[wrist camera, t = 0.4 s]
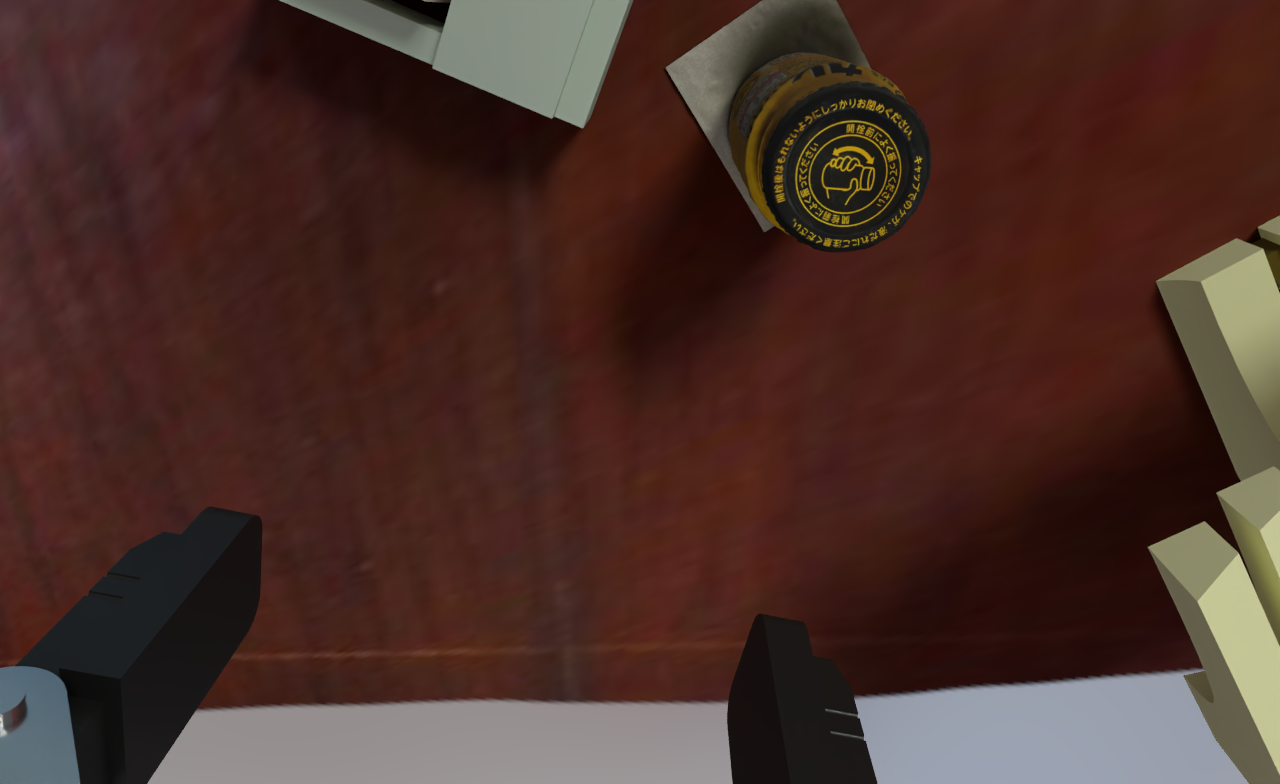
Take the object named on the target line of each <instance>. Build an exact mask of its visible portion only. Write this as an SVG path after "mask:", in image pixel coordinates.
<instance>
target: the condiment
mask: <svg viewBox="0 0 1280 784" xmlns="http://www.w3.org/2000/svg"><path fill="white" fill-rule="evenodd" d="M666 70H667V71H668V73H669V75H670V76H671V78H672V80H673V81H674V83H675V85H676V86H677V88H678V90H679V91H680V93H681V95H682V96H683V98H684V100H685V101H686V103H687V105H688V106H689V108H690V110H691V111H692V113H693V114H694V116H695V117H696V119H697V121H698V123H699V125H700V126H701V128H702V130H703V131H704V133H705V135H706V136H707V138H708V140H709V141H710V143H711V144H712V146H713V148H714V149H715V151H716V153H717V154H718V156H719V158H720V159H721V161H722V163H723V164H724V166H725V168H726V169H727V171H728V173H729V174H730V176H731V178H732V179H733V181H734V183H735V184H736V186H737V188H738V189H739V191H740V193H741V194H742V196H743V198H744V199H745V201H746V203H747V204H748V206H749V208H750V209H751V211H752V213H753V214H754V216H755V218H756V219H757V221H758V223H759V224H760V226H761V228H762V229H763V231H764V232H766V231H768V230H769V229H771V228H772V227H774V226H776V227H777V228H779V229H780V230H782V231H784V232H785V233H786V234H788V235H791V236H793V237H795V238H797V240H798V242H800V243H804V244H806V245H810V246H811V247H812V248H814V249H818V250H821V251H826V252H849V251H856V250H860V249H866V248H869V247H872V246H874V245H875V244H878V243H879V242H881V241H883V240H885V239H887V238H888V237H890V236H892V235H893V234H894V233H896V232H897V231H899V229H900V228H902V227H903V226H904V224H905V223H906V221H907V220H908V219H909V218H910V217H911V216H912V215H913V214H914V212H915V211H916V209H917V207H918V205H919V203H920V201H921V199H922V197H923V195H924V192H925V189H926V188H927V185H928V182H929V180H930V169H931V152H930V143H929V138H928V136H927V133H926V131H925V126H924V124H923V123H922V121H921V119H920V118H918V117H917V112H916V110H915V109H914V108H913V107H911V106H910V105H909V104H908V102H907V100H906V98H905V97H904V95H903V93H902V92H901V91H900V90H899V89H898V87H897V86H896V85H895V84H893V83H892V82H891V81H890V80H889V79H888V78H886V77H884V76H883V75H881V74H880V73H878V72H876V71H874V70H872V69H871V68H870V66H869V64H868V62H867V60H866V58H865V55H864V53H863V52H862V50H861V48H860V45H859V43H858V41H857V39H856V37H855V36H854V34H853V32H852V30H851V28H850V26H849V24H848V22H847V20H846V18H845V16H844V14H843V12H842V10H841V8H840V6H839V4H838V2H837V0H762V1H761V2H759V3H758V4H756V5H755V6H754V7H752V8H751V9H749V10H748V11H746V12H745V13H744V14H742V15H741V16H739V17H738V18H736V19H735V20H733V21H732V22H731V23H729V24H728V25H726V26H724V27H723V28H722V29H720V30H719V31H718V32H716V33H715V34H713V35H712V36H711V37H709V38H708V39H706V40H705V41H703V42H702V43H700V44H699V45H697V46H696V47H695V48H693V49H692V50H690V51H689V52H687V53H686V54H685V55H683V56H682V57H680V58H679V59H677V60H676V61H674V62H673V63H672V64H670V65H669V66H667V67H666Z"/></svg>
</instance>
